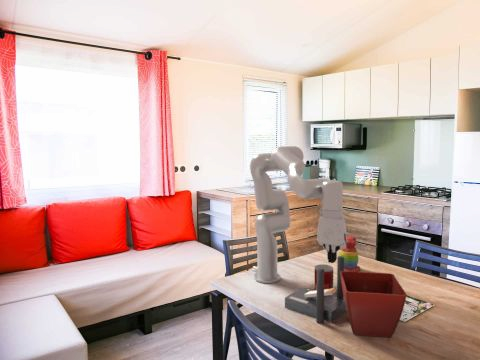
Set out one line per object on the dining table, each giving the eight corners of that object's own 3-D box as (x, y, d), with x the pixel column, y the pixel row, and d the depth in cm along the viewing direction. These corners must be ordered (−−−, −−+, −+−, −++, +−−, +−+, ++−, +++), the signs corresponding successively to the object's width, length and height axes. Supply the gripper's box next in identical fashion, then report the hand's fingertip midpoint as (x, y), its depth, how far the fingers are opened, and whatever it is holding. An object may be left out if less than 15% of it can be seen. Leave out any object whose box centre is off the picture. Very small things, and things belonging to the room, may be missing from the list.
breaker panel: (284, 307, 147) (284, 293, 146) (301, 296, 157) (301, 283, 156) (331, 323, 134) (331, 307, 134) (346, 309, 144) (346, 295, 144)
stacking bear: (360, 268, 189) (361, 234, 187) (358, 275, 180) (359, 239, 178) (339, 265, 194) (340, 232, 192) (335, 272, 184) (336, 237, 182)
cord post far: (335, 305, 148) (336, 257, 145) (338, 303, 150) (339, 255, 147) (341, 307, 146) (342, 258, 144) (344, 305, 148) (345, 257, 146)
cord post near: (315, 322, 135) (315, 269, 133) (318, 319, 137) (319, 267, 134) (321, 324, 133) (322, 271, 131) (324, 321, 135) (325, 269, 133)
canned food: (333, 295, 157) (333, 270, 156) (314, 294, 159) (314, 269, 158) (332, 288, 165) (333, 264, 163) (314, 287, 166) (314, 263, 165)
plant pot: (405, 344, 120) (407, 294, 118) (345, 340, 123) (345, 291, 121) (391, 316, 139) (393, 273, 137) (339, 313, 142) (339, 270, 140)
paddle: (305, 297, 146) (304, 293, 146) (310, 294, 149) (309, 290, 149) (331, 295, 138) (330, 291, 138) (336, 291, 141) (335, 287, 141)
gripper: (309, 213, 139) (309, 260, 141) (347, 217, 129) (346, 268, 131) (318, 210, 145) (318, 255, 146) (355, 214, 135) (355, 263, 137)
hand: (332, 261), depth 139 cm, fingers closed
